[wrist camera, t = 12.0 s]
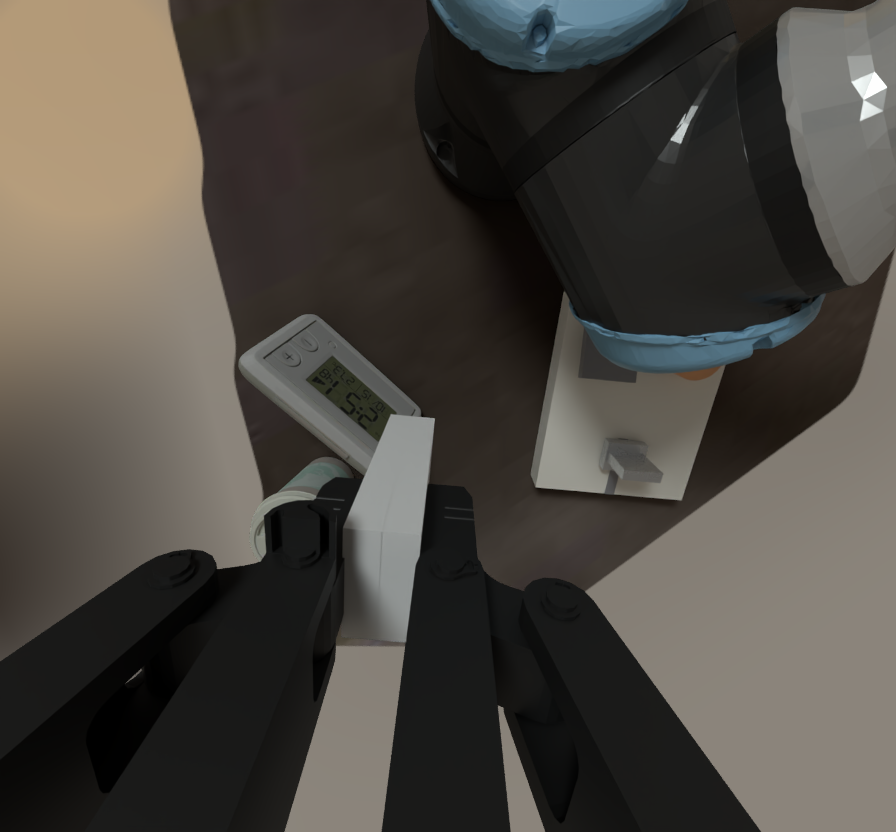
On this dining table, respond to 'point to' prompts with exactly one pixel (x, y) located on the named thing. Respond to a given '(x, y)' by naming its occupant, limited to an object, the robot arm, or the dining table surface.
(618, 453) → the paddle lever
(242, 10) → the dining table surface
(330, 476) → the coffee cup
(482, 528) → the dining table surface
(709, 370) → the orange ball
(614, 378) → the grey flat block
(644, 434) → the panel
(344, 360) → the digital clock
